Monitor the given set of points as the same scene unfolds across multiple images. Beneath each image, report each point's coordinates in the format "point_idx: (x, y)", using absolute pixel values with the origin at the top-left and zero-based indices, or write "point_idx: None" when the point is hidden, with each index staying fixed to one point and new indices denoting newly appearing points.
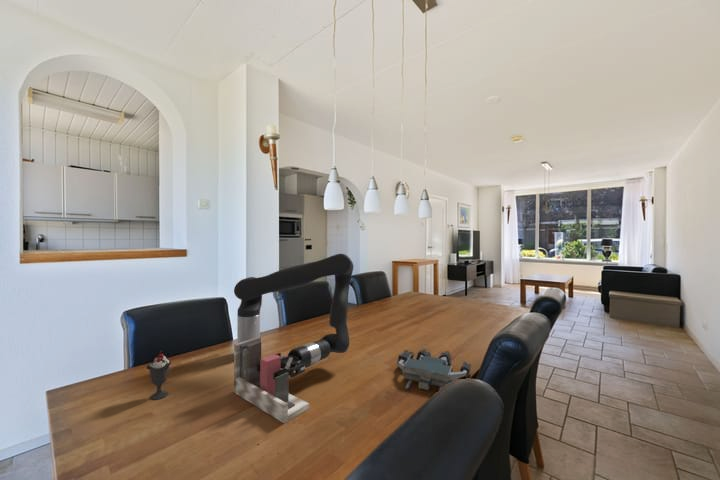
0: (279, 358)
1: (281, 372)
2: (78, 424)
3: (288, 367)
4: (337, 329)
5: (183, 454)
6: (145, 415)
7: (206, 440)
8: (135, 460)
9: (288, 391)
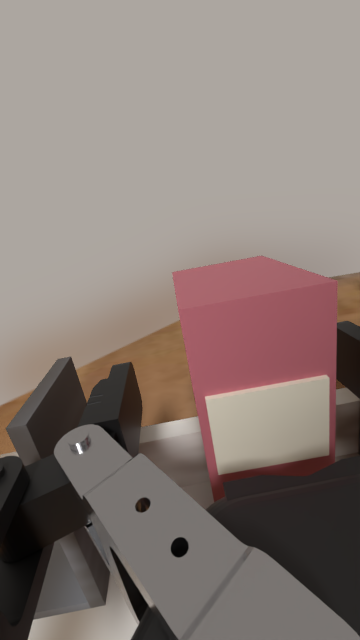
0: (181, 322)
1: (92, 403)
2: (350, 280)
3: (68, 460)
4: None
5: (168, 344)
6: (344, 309)
7: (175, 362)
8: None
9: (66, 555)
